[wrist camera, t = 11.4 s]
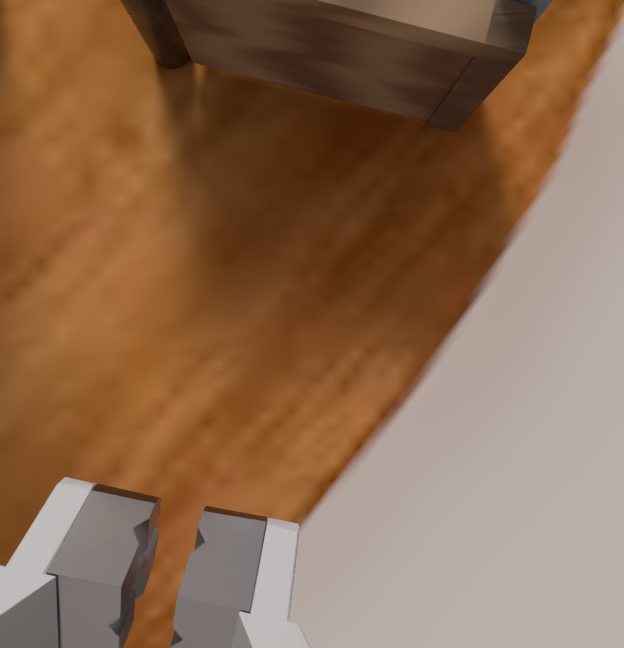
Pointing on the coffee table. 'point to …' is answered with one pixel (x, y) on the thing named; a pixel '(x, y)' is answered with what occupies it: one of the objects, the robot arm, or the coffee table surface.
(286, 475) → the coffee table surface
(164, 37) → the hinge post
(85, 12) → the coffee table surface
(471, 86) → the wooden gate panel
